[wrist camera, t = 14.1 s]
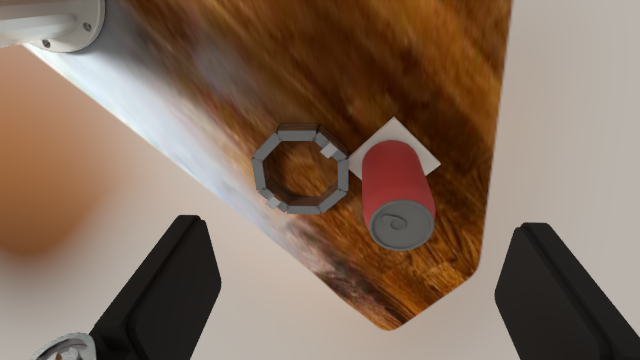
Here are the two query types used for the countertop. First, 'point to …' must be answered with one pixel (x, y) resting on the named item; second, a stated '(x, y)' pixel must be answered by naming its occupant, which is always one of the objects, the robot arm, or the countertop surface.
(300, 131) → the collar
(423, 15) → the countertop surface
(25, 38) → the robot arm
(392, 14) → the countertop surface
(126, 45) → the countertop surface
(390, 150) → the beer can
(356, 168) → the plate
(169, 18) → the countertop surface
